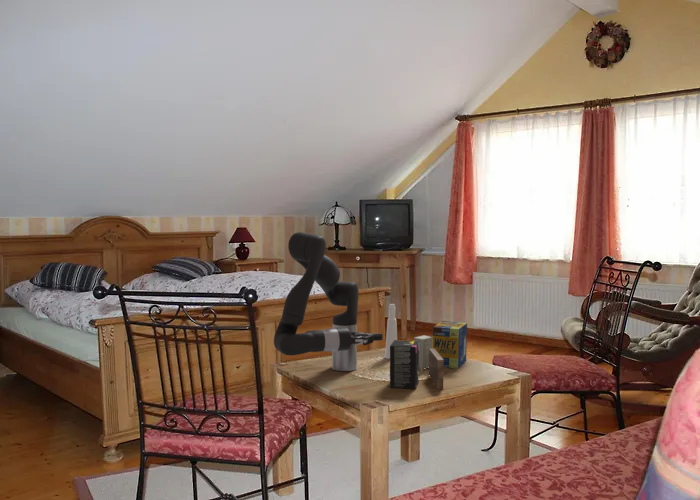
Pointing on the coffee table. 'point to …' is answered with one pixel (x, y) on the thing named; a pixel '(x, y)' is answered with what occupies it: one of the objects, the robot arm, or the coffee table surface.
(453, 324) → the protein box
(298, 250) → the robot arm
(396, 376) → the tampon box
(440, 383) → the walnut board
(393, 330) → the cosmetic bottle
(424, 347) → the skincare box
